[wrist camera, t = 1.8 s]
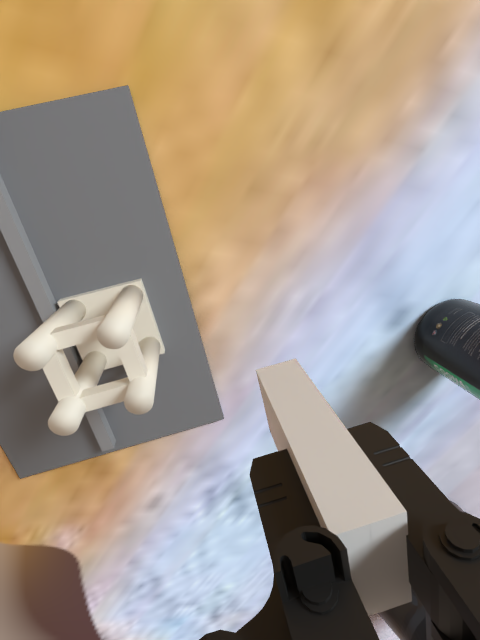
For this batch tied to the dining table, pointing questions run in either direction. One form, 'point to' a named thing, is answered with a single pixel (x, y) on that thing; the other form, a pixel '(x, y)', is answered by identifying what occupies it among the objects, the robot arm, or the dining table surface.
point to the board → (88, 273)
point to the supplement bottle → (452, 342)
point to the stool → (97, 352)
